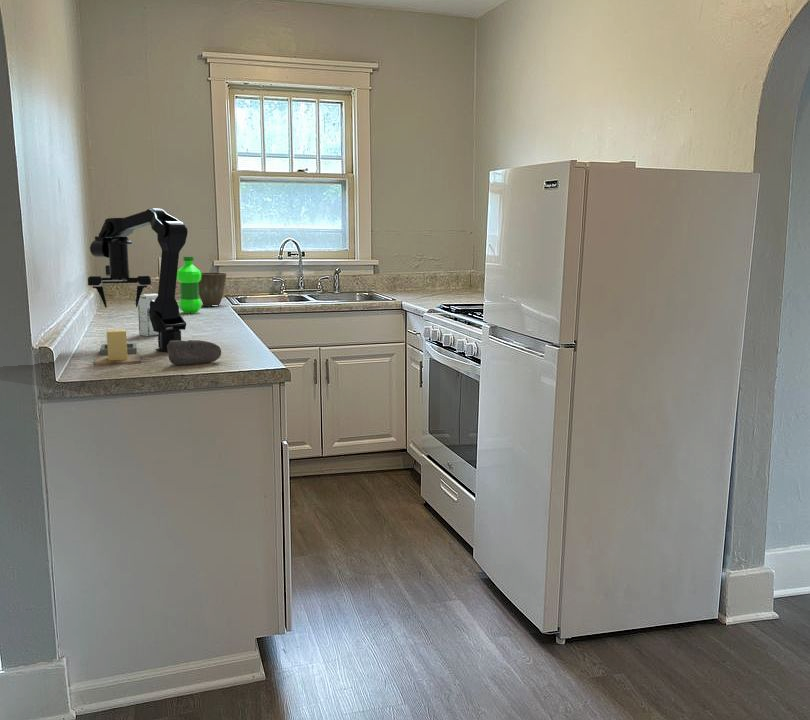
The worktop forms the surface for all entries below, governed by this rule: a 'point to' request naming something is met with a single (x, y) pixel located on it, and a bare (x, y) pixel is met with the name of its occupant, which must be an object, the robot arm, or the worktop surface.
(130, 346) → the hinged window frame
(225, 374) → the worktop surface
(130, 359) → the walnut board
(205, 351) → the perforated stone tool
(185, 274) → the plastic bottle
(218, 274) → the plant pot
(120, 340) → the block
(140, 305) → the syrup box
